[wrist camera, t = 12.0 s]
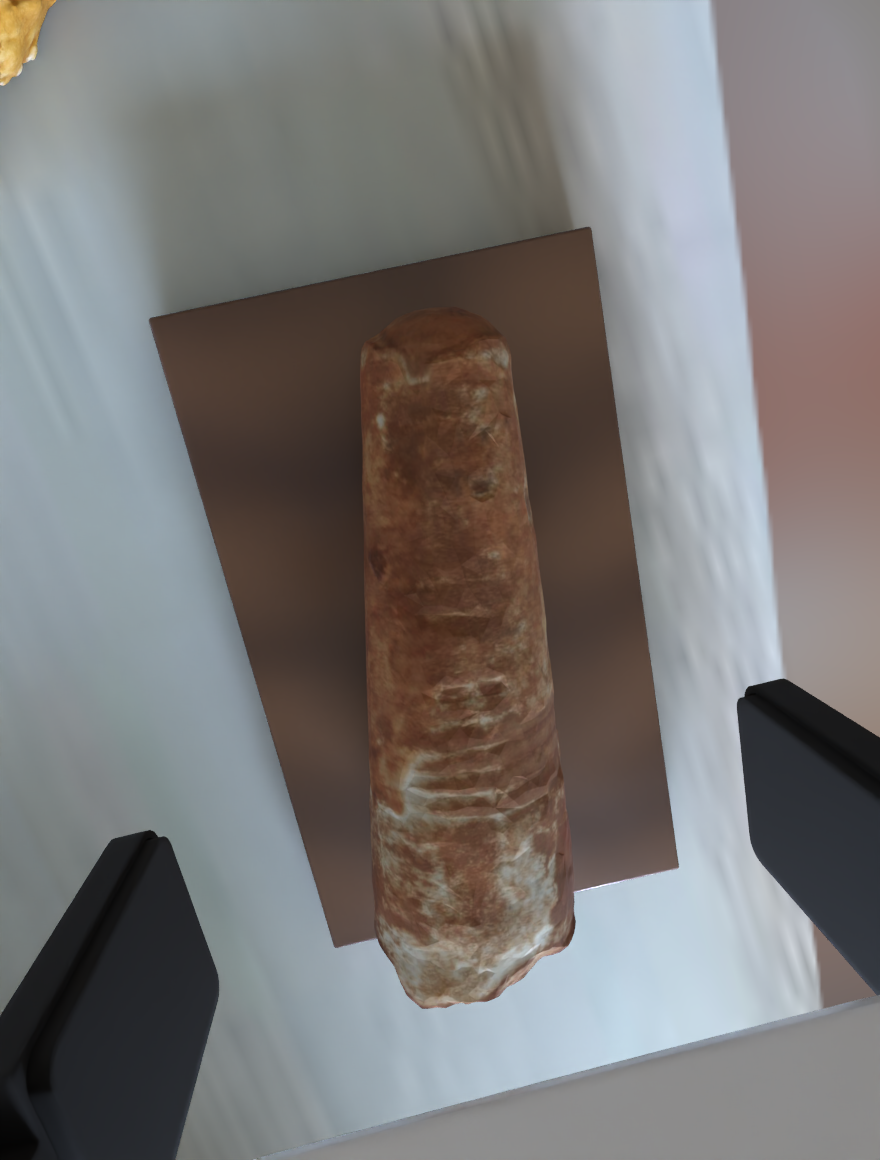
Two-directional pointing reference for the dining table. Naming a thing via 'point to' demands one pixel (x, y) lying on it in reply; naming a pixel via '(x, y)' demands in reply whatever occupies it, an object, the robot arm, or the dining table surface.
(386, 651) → the bread
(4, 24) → the bagel
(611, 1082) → the robot arm
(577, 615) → the bread board
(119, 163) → the dining table surface
